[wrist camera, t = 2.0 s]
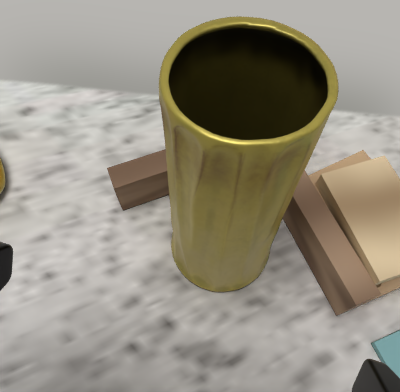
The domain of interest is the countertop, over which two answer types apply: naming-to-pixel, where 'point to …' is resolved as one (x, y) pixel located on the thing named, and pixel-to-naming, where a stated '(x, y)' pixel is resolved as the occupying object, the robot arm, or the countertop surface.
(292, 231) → the offcut rack
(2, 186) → the bread roll
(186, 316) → the countertop surface
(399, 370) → the mat
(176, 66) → the vase
